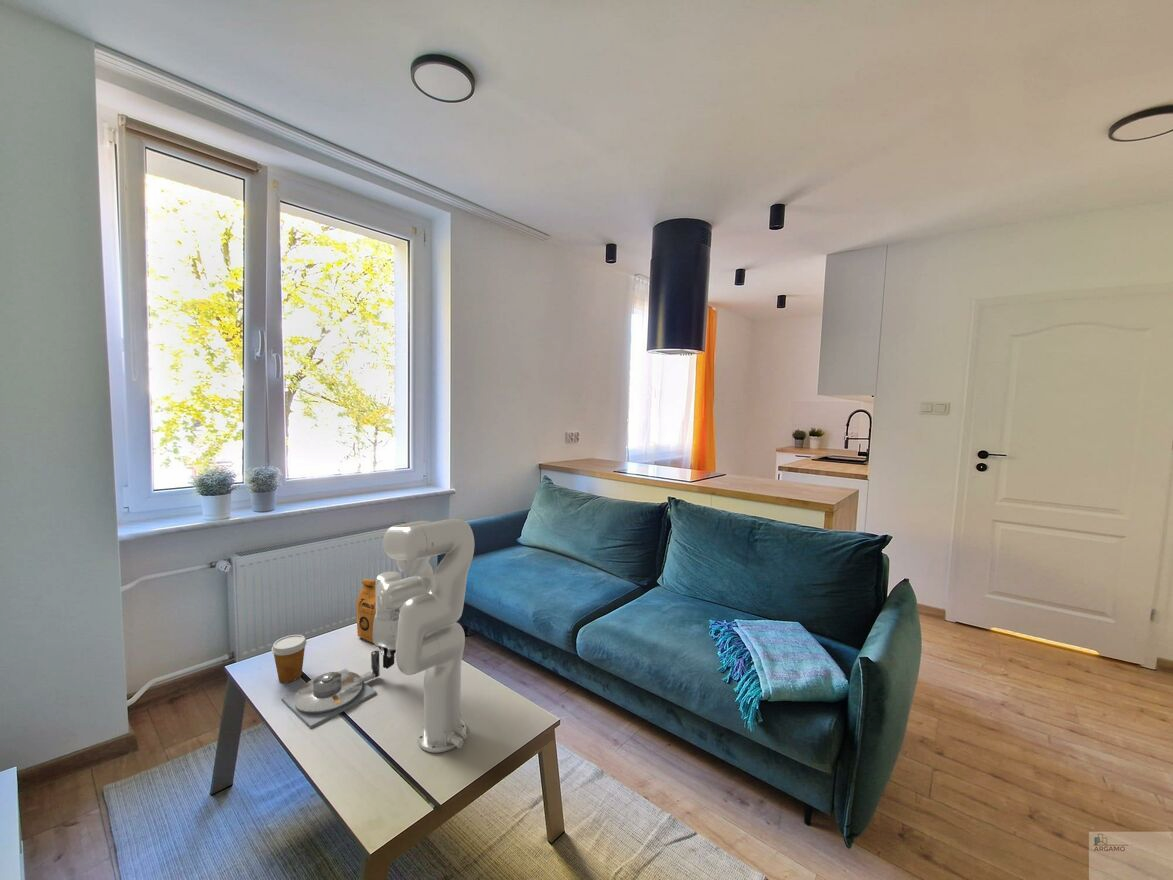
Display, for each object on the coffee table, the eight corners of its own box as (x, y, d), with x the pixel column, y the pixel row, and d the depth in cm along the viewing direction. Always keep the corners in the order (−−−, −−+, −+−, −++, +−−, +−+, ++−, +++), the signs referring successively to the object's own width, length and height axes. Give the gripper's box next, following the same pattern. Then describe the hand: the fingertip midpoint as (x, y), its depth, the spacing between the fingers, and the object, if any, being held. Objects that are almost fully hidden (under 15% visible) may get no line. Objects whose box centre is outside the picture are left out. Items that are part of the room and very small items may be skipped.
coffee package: (373, 648, 167) (372, 590, 165) (353, 638, 173) (352, 581, 171) (397, 636, 175) (396, 581, 173) (377, 627, 182) (377, 573, 180)
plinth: (376, 693, 142) (376, 691, 142) (310, 728, 127) (310, 725, 126) (345, 670, 153) (345, 668, 153) (281, 700, 138) (281, 697, 138)
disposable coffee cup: (314, 669, 153) (313, 635, 152) (293, 687, 144) (292, 650, 143) (287, 667, 154) (286, 632, 153) (265, 684, 145) (263, 648, 144)
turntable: (303, 722, 127) (302, 696, 126) (288, 691, 140) (287, 667, 139) (390, 686, 144) (390, 663, 143) (369, 662, 156) (369, 640, 156)
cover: (346, 689, 140) (346, 675, 139) (320, 701, 134) (319, 687, 133) (334, 679, 144) (334, 666, 144) (308, 691, 138) (308, 677, 138)
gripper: (415, 611, 147) (415, 665, 149) (379, 602, 152) (379, 654, 154) (398, 622, 140) (398, 678, 142) (361, 611, 145) (361, 666, 147)
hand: (388, 665), depth 148 cm, fingers closed
